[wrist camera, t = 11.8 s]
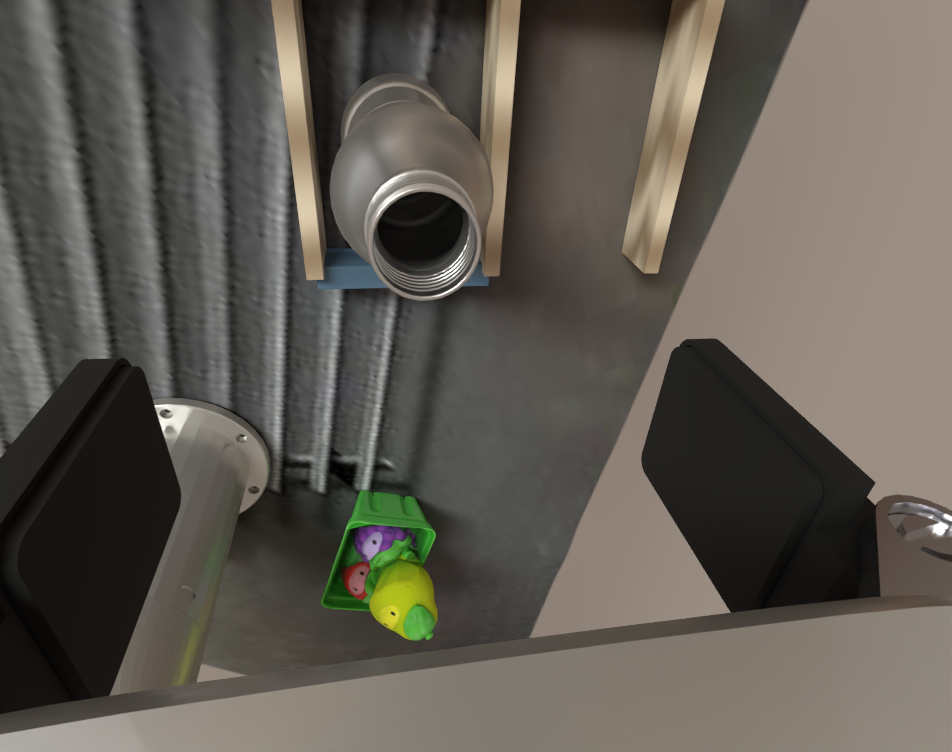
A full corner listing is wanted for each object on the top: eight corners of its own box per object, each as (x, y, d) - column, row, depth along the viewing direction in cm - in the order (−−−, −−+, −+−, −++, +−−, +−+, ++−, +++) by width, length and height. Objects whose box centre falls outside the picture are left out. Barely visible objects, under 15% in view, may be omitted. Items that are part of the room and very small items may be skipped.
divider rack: (631, 264, 41) (654, 286, 38) (313, 269, 37) (308, 294, 34) (696, -35, 31) (735, -41, 28) (273, -69, 27) (260, -80, 24)
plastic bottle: (341, 182, 34) (318, 338, 18) (342, 59, 31) (316, 115, 14) (442, 192, 36) (507, 346, 19) (455, 76, 32) (547, 144, 16)
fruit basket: (349, 476, 48) (345, 587, 39) (445, 490, 51) (462, 597, 42) (322, 561, 53) (313, 677, 44) (410, 569, 56) (419, 679, 47)
